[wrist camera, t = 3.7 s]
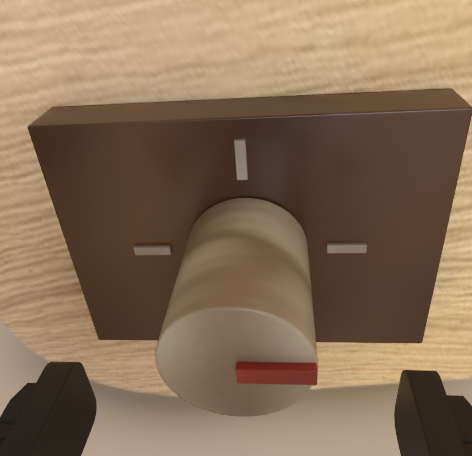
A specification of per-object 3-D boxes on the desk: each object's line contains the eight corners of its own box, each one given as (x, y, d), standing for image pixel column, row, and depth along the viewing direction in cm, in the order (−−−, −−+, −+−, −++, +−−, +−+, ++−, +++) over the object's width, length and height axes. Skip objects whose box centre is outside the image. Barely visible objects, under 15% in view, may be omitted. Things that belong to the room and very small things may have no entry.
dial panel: (112, 309, 22) (97, 343, 20) (51, 106, 16) (23, 128, 15) (410, 310, 20) (423, 346, 19) (452, 88, 15) (475, 109, 13)
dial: (196, 293, 18) (165, 424, 13) (181, 198, 16) (137, 315, 11) (306, 293, 18) (317, 429, 13) (308, 195, 15) (322, 316, 10)
